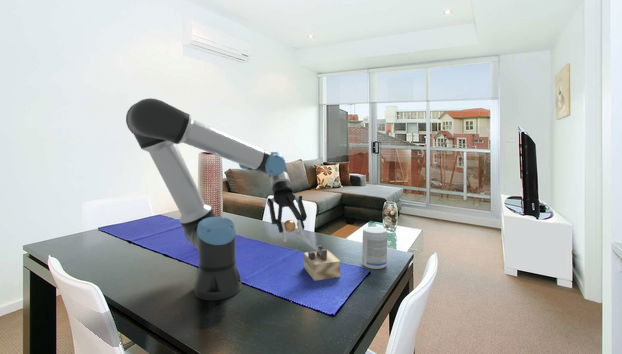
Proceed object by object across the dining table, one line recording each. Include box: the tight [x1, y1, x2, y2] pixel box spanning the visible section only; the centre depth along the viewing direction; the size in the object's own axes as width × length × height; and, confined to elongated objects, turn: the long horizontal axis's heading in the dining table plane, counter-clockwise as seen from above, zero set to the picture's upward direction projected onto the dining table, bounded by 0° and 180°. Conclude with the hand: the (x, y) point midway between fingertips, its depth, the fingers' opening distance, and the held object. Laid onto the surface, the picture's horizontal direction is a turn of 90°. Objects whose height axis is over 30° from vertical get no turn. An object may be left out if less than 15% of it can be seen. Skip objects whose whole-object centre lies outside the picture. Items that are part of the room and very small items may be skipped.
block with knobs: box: [303, 244, 341, 282], centre depth 117 cm, size 10×12×10 cm
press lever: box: [284, 219, 323, 256], centre depth 113 cm, size 4×4×20 cm
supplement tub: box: [362, 226, 388, 270], centre depth 123 cm, size 10×10×15 cm
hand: (294, 238), depth 107 cm, fingers closed on press lever, 5 cm apart
